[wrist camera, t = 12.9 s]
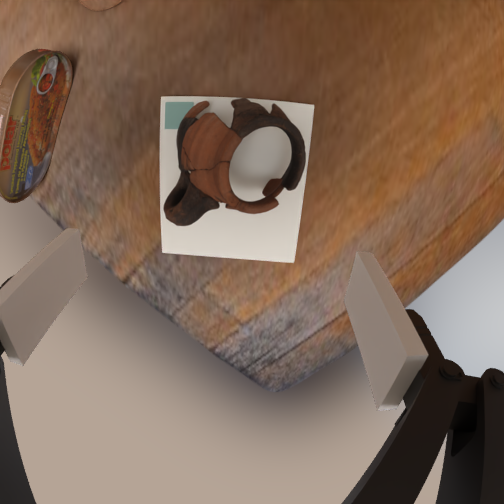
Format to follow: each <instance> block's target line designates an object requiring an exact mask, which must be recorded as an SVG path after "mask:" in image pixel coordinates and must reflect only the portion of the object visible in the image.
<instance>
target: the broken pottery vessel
mask: <svg viewBox="0 0 504 504" xmlns="http://www.w3.org/2000/svg"><path fill="white" fill-rule="evenodd" d="M209 105H210V103H209V102H208V101H202V102H199V103H197V104H196V105H195V106H193V107H192V108H191V109H190V110H189V111H188V112H187V113H186V115H185V116H184V118H183V119H182V121H181V123H180V125H179V128H178V131H177V138H176V144H177V150H178V163H179V165H178V167H179V169H180V171H181V173H180V177H179V180H178V182H177V184H176V186H175V187H174V188H173V190H172V191H171V192H170V194H169V195H168V197H167V199H166V201H165V203H164V207H163V210H164V213H165V217H166V219H167V220H169V221H170V222H172V223H174V224H175V225H176V226H188V225H191V224H193V223H194V222H196V221H197V220H199V219H200V218H201V217H202V216H203V215H204V214H205V213H206V212H208V211H210V210H214V209H218V208H219V207H220V204H219V202H220V203H225V204H226V205H225V208H227V209H233V210H238V211H240V212H243V213H247V214H258V213H264V212H267V211H269V210H272V209H274V208H275V207H277V206H278V205H279V203H278V200H277V199H276V198H275V197H277V196H278V195H279V194H280V193H281V192H282V190H283V189H284V188H286V189H287V190H288V191H291V190H294V189H295V188H296V187H297V186H298V183H299V182H300V180H301V178H302V174H303V172H304V168H305V163H306V152H305V143H304V139H303V137H302V135H301V132H300V131H299V129H298V128H297V127H296V126H295V125H294V124H293V123H291V121H290V120H289V118H288V117H287V116H286V114H285V113H284V112H283V111H282V109H281V108H280V107H278V106H277V105H276V104H275V103H273V104H272V110H271V112H270V113H269V112H268V111H267V110H266V109H265V107H263V106H261V105H260V104H258V103H255V102H251V101H250V100H248V99H246V98H240V99H234V100H232V101H231V105H232V107H233V108H234V112H233V120H232V124H231V127H230V128H229V127H228V126H227V125H226V124H225V123H224V122H222V121H221V119H220V118H219V117H218V116H217V115H216V114H215V113H214V112H212V113H205V114H203V115H202V116H201V117H200V118H199V119H197V118H195V117H196V116H197V115H198V114H199V113H200V112H202V111H203V110H204V109H206V108H207V107H208V106H209ZM270 126H271V127H278V128H280V129H281V130H283V131H284V132H285V133H286V134H287V136H288V137H289V140H290V143H291V151H292V153H291V161H290V164H289V166H288V168H287V170H286V171H285V173H284V174H283V176H282V178H276V179H270V180H269V181H268V183H267V184H266V185H265V187H264V189H263V191H262V194H263V195H264V196H265V197H264V198H262V199H260V200H257V201H244V200H242V199H240V198H238V197H237V196H236V195H235V194H234V192H233V190H232V188H231V185H230V180H229V168H230V161H231V159H232V157H233V154H234V152H235V150H236V149H237V147H238V146H239V144H240V143H241V141H242V140H243V138H244V137H246V136H247V135H249V134H250V133H252V132H253V131H255V130H257V129H259V128H263V127H270ZM189 171H190V173H189Z"/></svg>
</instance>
